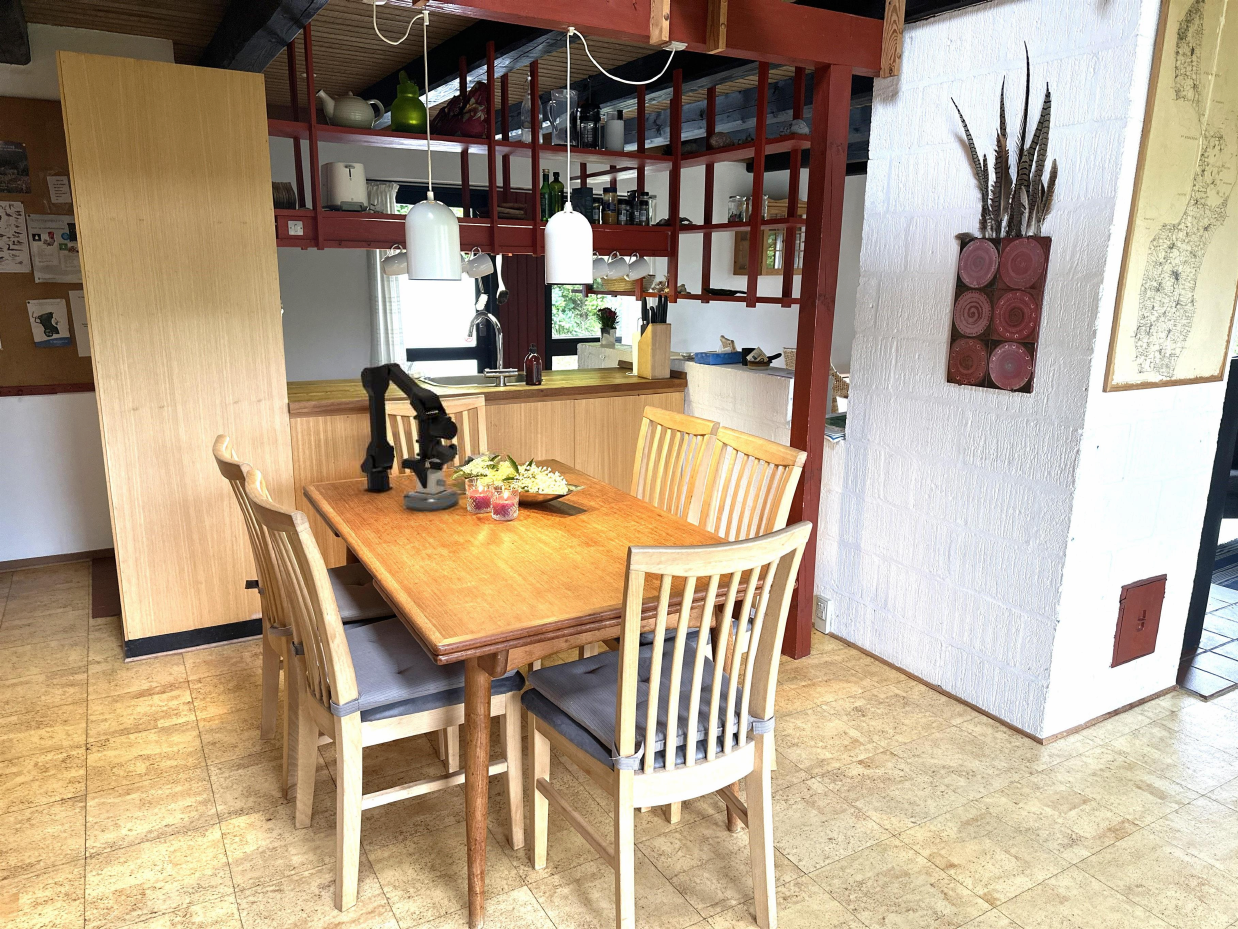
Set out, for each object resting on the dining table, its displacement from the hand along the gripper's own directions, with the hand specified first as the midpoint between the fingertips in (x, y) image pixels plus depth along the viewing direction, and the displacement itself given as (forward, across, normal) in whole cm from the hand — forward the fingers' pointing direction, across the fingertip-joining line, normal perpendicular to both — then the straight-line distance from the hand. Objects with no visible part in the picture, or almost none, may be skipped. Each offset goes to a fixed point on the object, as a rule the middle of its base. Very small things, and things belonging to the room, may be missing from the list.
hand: (430, 486), depth 255 cm
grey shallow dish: (+6, 0, 0) cm, 6 cm away
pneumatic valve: (+6, +22, -4) cm, 23 cm away
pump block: (+1, 0, 0) cm, 1 cm away
